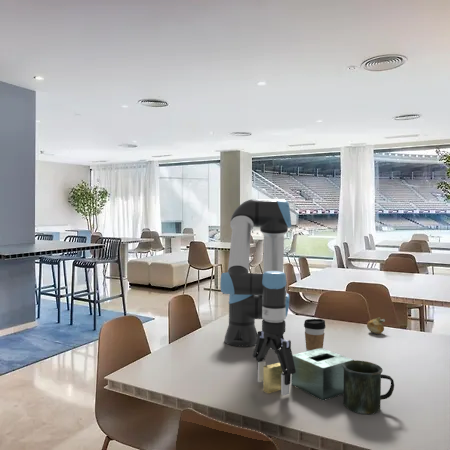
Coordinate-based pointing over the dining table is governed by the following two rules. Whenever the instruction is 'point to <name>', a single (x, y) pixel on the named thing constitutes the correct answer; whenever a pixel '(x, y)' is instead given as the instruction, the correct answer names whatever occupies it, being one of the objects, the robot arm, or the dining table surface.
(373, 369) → the mug
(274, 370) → the tan rectangular block
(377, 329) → the onion
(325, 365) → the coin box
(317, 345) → the coffee cup
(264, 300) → the robot arm
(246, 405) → the dining table surface
